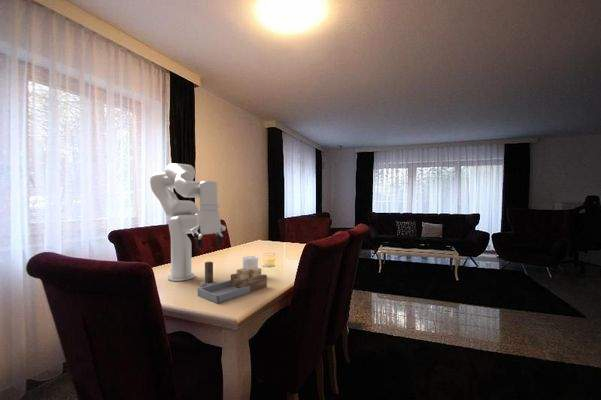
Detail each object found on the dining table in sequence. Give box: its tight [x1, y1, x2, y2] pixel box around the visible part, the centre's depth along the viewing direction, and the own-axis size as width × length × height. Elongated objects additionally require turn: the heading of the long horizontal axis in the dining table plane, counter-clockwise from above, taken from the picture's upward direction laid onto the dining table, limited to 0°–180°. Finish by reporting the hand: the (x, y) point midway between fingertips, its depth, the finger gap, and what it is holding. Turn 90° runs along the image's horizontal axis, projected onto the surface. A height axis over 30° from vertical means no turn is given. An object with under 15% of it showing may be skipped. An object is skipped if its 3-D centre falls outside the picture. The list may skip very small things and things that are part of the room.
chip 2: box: [249, 267, 262, 278], centre depth 130 cm, size 4×4×4 cm
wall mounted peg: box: [200, 260, 218, 288], centre depth 128 cm, size 7×4×12 cm, turn 50°
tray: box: [197, 279, 251, 305], centre depth 119 cm, size 14×16×3 cm
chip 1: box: [236, 267, 249, 280], centre depth 128 cm, size 4×4×4 cm
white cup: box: [242, 255, 259, 269], centre depth 145 cm, size 8×8×10 cm
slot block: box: [230, 272, 268, 294], centre depth 129 cm, size 13×10×6 cm
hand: (209, 246), depth 128 cm, fingers open, 9 cm apart
